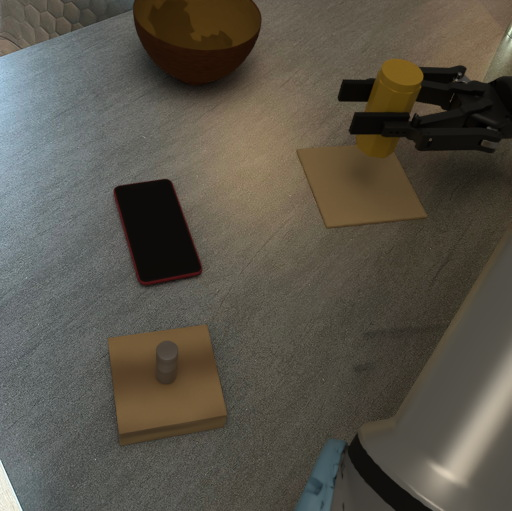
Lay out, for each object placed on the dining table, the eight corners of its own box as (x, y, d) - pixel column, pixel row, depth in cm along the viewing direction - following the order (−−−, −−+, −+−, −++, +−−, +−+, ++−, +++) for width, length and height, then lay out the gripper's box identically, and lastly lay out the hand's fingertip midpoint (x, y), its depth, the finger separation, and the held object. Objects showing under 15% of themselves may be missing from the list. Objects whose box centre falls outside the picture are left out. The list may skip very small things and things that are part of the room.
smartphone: (139, 284, 68) (111, 185, 76) (139, 289, 69) (112, 190, 77) (204, 271, 71) (170, 177, 79) (203, 276, 71) (170, 182, 79)
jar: (395, 160, 78) (426, 87, 69) (357, 155, 77) (383, 82, 68) (391, 133, 80) (420, 61, 72) (354, 129, 80) (379, 56, 71)
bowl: (250, 117, 89) (260, 58, 81) (125, 102, 88) (123, 40, 80) (253, 45, 100) (262, -14, 92) (142, 30, 98) (141, -31, 91)
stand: (224, 427, 61) (233, 391, 55) (120, 446, 59) (116, 411, 52) (204, 338, 67) (210, 297, 60) (109, 352, 64) (104, 310, 58)
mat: (426, 218, 82) (427, 216, 82) (326, 228, 79) (327, 226, 78) (388, 144, 90) (389, 142, 90) (296, 150, 86) (296, 148, 86)
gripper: (540, 182, 75) (357, 185, 71) (485, 85, 86) (322, 83, 81) (574, 135, 69) (375, 135, 65) (510, 37, 80) (336, 32, 75)
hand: (346, 106), depth 73 cm, fingers closed on jar, 5 cm apart
